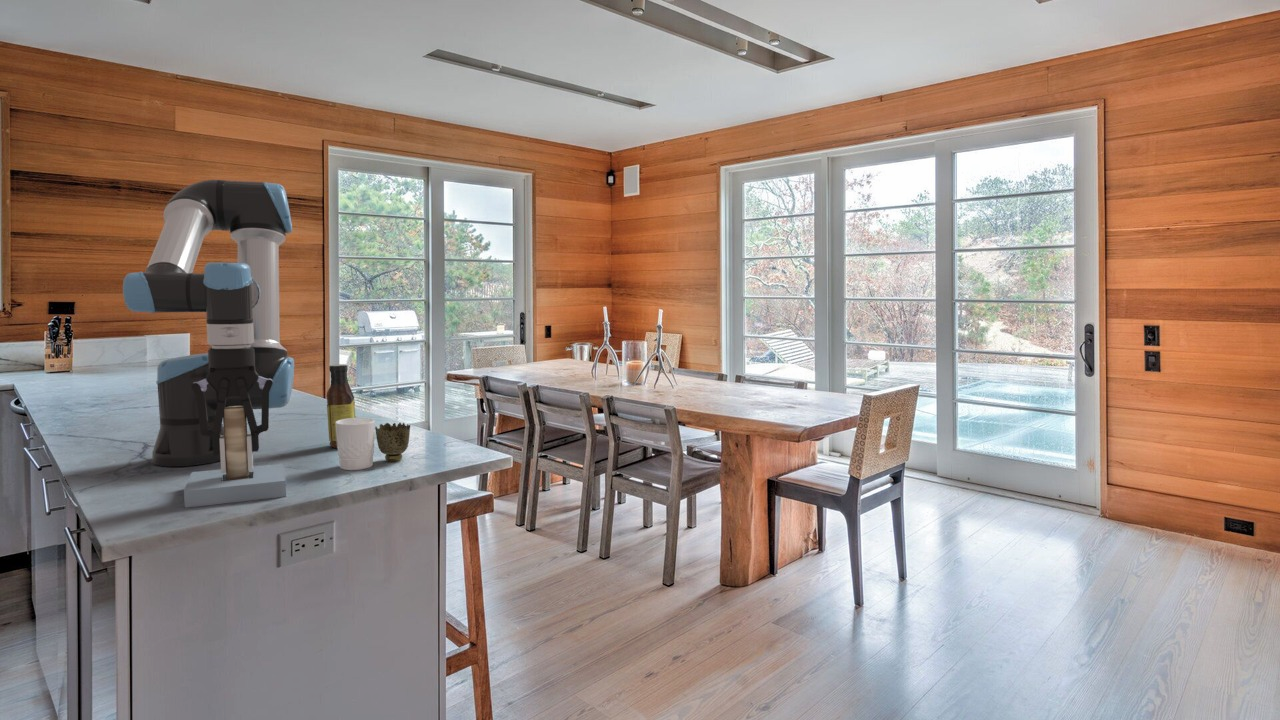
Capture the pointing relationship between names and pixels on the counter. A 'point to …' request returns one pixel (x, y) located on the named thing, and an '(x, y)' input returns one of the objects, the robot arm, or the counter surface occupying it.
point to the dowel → (235, 443)
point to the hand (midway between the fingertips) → (237, 469)
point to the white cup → (355, 443)
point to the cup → (393, 440)
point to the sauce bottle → (339, 400)
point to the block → (235, 486)
